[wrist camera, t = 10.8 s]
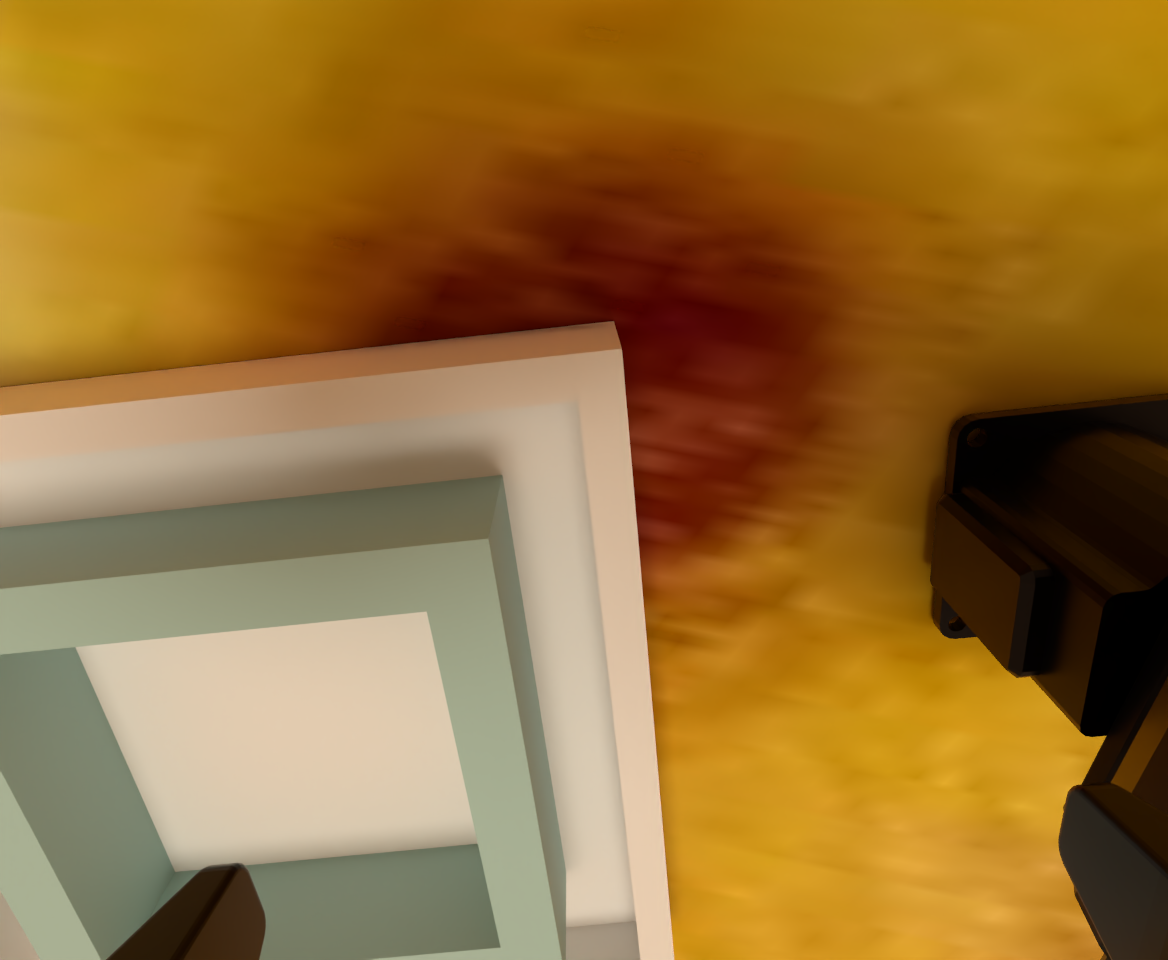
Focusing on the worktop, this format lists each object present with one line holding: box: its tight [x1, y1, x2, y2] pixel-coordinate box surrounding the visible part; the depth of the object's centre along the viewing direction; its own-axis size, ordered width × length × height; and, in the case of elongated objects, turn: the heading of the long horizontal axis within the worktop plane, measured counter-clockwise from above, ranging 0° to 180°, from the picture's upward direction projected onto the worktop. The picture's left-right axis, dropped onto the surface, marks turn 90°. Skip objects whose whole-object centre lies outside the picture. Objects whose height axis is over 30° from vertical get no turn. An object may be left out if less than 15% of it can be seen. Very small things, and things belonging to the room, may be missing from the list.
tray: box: [0, 321, 674, 960], centre depth 21 cm, size 21×21×3 cm
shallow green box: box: [0, 475, 566, 960], centre depth 20 cm, size 14×14×4 cm
